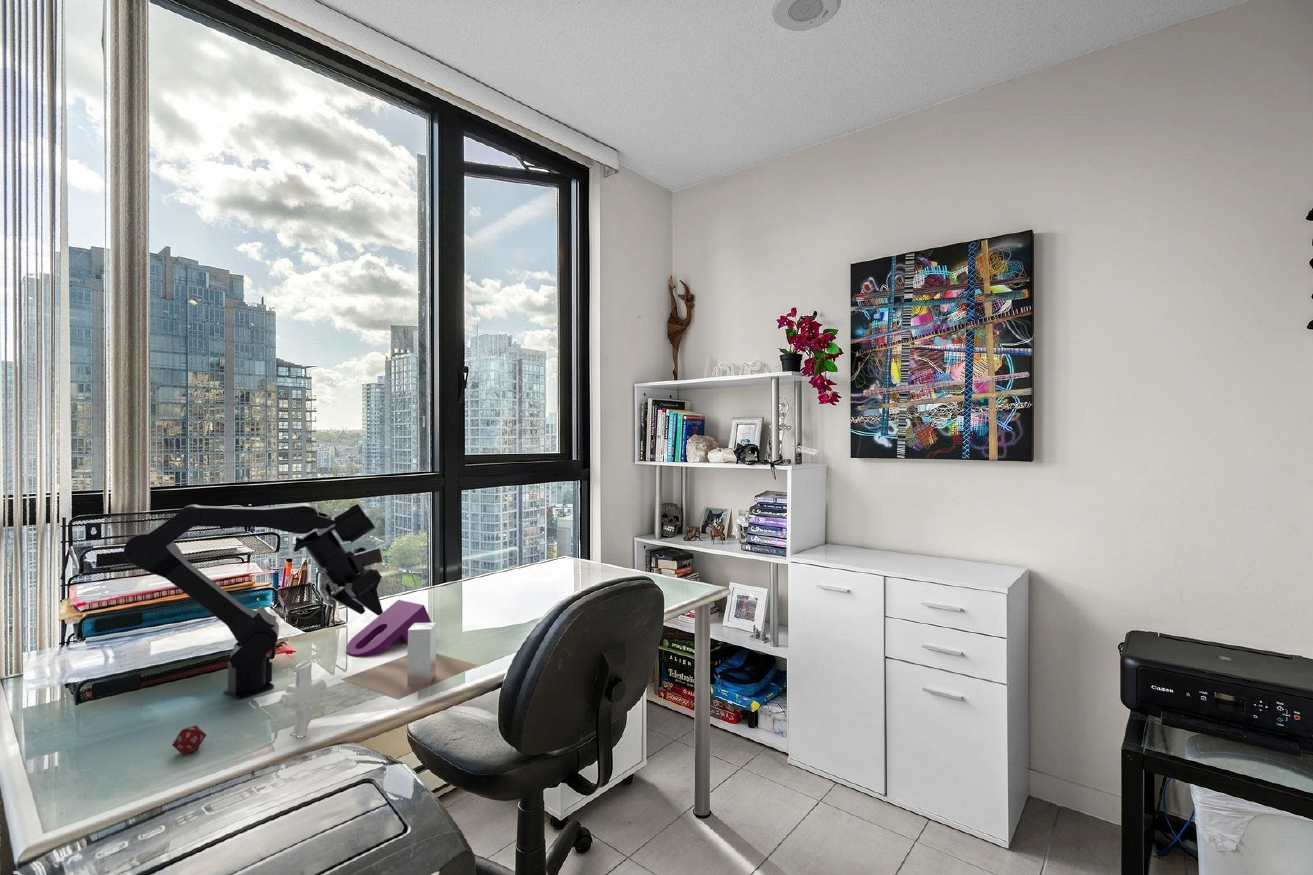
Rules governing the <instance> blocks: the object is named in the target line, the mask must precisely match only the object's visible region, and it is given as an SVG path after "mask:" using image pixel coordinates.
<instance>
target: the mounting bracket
mask: <svg viewBox="0 0 1313 875" xmlns="http://www.w3.org/2000/svg"><path fill="white" fill-rule="evenodd" d="M414 623H432V619H431V618H430V615H429V613H428V611H427V609H426V607H425V605H424V604H420V603H416V602H411V601H406V600H401V599H397V600H396V601H395V602H394V603H393V604H391V605H390V606H389V607H388V608H387V609H385V610H383V613H382V614H381V615H377V617H376V618H375V619H373V620H372V621H371V622H369V623H368V625H366V626H364V628H363V629H361V630H360V631H359V632H358V633H356V634H355V635H354V636H353V637H352V638H351V639H350V640H349V641H348V643H347V645H346V648H345V649H346V652H347V654H348V655H349V656H353V657H372V656H375V655H380V654H381V653H383V652H384V651H385V650H386V649H387V648H388V647H390V645H391V644H392V643H394V642H395V641H396V640H399V641H400V643H401V644H402V643H403V644H407V645H408V629H409V628H410V627H411V626H412V625H413V624H414Z"/></svg>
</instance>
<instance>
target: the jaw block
mask: <svg viewBox="0 0 1313 875" xmlns="http://www.w3.org/2000/svg"><path fill="white" fill-rule="evenodd" d="M436 649H437V622H431V623H414V624H413V625H412V626H411V627H410V628H409V629H408V644H407V655H408V667H407V684H430V683H431V681H432V679H433V678H434V676H435V665H436V652H437V650H436Z"/></svg>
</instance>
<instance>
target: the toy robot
mask: <svg viewBox="0 0 1313 875" xmlns="http://www.w3.org/2000/svg"><path fill="white" fill-rule="evenodd" d="M312 665H313V662H312V661H311V660H304V661H301V662H299V663H297V664H296V666H295V677H296V678H295V682H292V683H291V684H288V685H286V693H284V694H282V695H281V696H280V699H279V700H278V705H279V707H280V708H283V709H285V710H288V709H289V708H291V709H294V711H295V717H296V718H295V721H294V725H293V730H292V732H290V734H293V736H295V735H294V734H297V735H296V736H299V737H301V736H305V735H306V734H307V735H308V728H309V726H310V725H309V724H310V722H311V719H312V715H311V709H310V707H312V706H316V705H318V704H319V703H321V692H322V691H324V690H326V689H327V687H328V686H327V682H326V681H325V680H324V679H322V678H318V679H316V680H314V679H312V668H313V666H312ZM307 735H306V736H307ZM306 736H305V737H306Z"/></svg>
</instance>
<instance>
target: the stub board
mask: <svg viewBox="0 0 1313 875" xmlns="http://www.w3.org/2000/svg"><path fill="white" fill-rule="evenodd" d="M477 666H478V664H475V663H471V662H468V661H464V660H462V659H458V658H454V657H452V656H451V657H450V656H446V655H443V654H439V653H436V665H435V676H434V678H433V679H432V681H431V683H430V684H407V667H408V654H405V655H404V656H401V657H398V658H396V659H393V660H390V661H386V662H385V663H382V664H381V663H380V664H378V665H377V666H373V667H371V668H368V669H365V670H363V671H359V672H357V673H354V674H351V675H349V676H346V677H343V678H341V680H342V681H345V682H347V683H350V684H352V685H356V686H359V687H362V688H364V689H367V690H369V691H373V692H375V693H378V694H382V695H383V696H387V697H389V698H392V699H394V700H401V699H403V698H405V697H407V696H410V695H412V694H414V693H417V692H419V691H422V690H424V689H427V688H428V687H430V686H433V685H435V684H438V683H440V682H442V681H445V680H447V679H449V678H452V677H454V676H456V675H458V674H461V673H464V672H466V671H467V670H471V669H473V668H474V667H477Z"/></svg>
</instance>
